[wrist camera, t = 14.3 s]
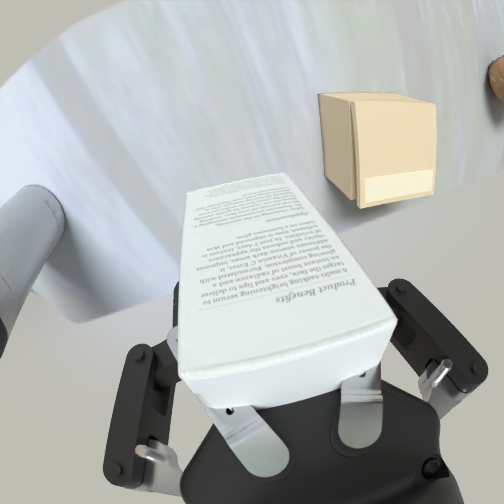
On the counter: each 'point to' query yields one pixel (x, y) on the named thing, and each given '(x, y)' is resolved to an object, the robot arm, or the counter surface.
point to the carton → (344, 135)
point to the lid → (394, 150)
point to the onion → (497, 77)
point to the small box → (271, 298)
